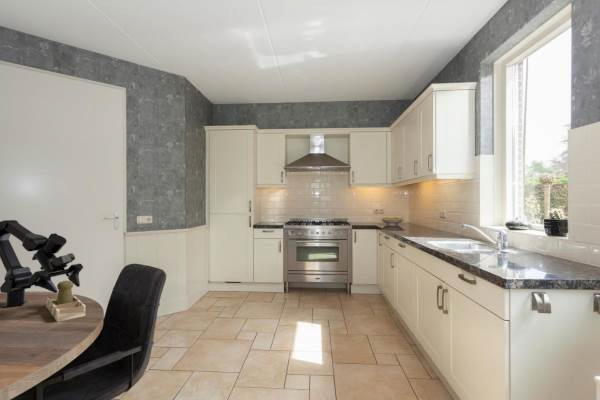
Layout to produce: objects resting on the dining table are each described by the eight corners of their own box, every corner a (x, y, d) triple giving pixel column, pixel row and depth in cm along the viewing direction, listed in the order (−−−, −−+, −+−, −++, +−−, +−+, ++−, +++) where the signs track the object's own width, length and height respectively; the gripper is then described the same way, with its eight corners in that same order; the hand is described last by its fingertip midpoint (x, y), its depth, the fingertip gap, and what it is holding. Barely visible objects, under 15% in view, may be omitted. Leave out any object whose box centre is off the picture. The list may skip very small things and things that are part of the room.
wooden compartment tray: (45, 306, 127) (46, 296, 127) (70, 301, 133) (71, 292, 133) (57, 321, 110) (57, 311, 110) (85, 315, 117) (85, 305, 117)
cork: (76, 304, 126) (77, 279, 126) (69, 309, 120) (70, 282, 120) (59, 306, 124) (60, 279, 124) (52, 311, 118) (52, 283, 118)
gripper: (35, 251, 114) (55, 281, 111) (80, 245, 132) (99, 271, 129) (19, 270, 116) (39, 300, 113) (66, 261, 134) (85, 288, 131)
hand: (68, 289), depth 122 cm, fingers open, 9 cm apart
